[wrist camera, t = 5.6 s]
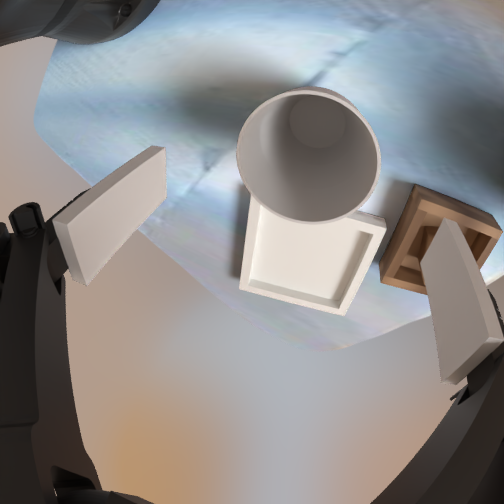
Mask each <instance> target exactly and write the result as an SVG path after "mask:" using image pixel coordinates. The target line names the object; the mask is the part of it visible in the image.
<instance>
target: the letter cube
mask: <svg viewBox="0 0 504 504" xmlns="http://www.w3.org/2000/svg"><path fill="white" fill-rule="evenodd" d="M438 229H439V227H435V226H424V231H423V236H422V241H421V245H420V250H419V254H418V262H419V266H420V270H421V274H422V278H423V283H424V284H425V281H424V277H423V273H422V269H421V265H420V262H421V261H422V259H423V257H424V255H425V253H426V252H427V250H428V248H429V246H430V244H431V242H432V240H433V239H434V237H435V235H436V233H437V231H438Z"/></svg>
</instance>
